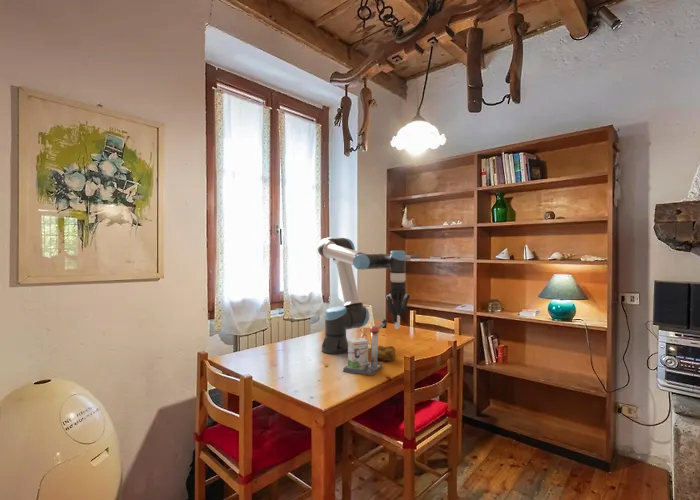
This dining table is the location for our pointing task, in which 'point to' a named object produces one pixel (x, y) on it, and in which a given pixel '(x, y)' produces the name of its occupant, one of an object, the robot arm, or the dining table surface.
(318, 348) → the dining table surface
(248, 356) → the dining table surface
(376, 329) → the lever
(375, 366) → the stand
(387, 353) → the bread roll
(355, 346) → the ink box
